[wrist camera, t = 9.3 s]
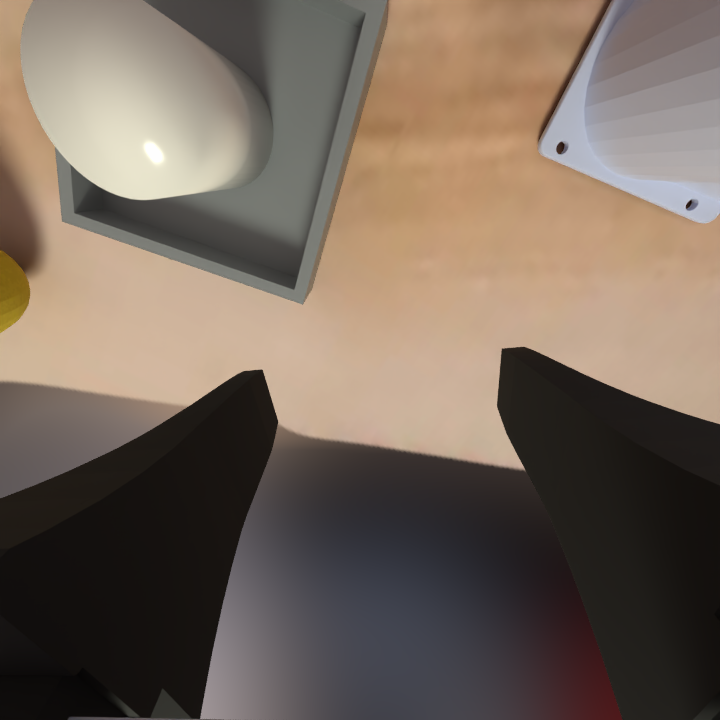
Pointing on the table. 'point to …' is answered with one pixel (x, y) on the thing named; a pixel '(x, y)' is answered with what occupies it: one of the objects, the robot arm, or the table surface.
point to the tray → (289, 152)
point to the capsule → (141, 100)
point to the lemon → (12, 291)
